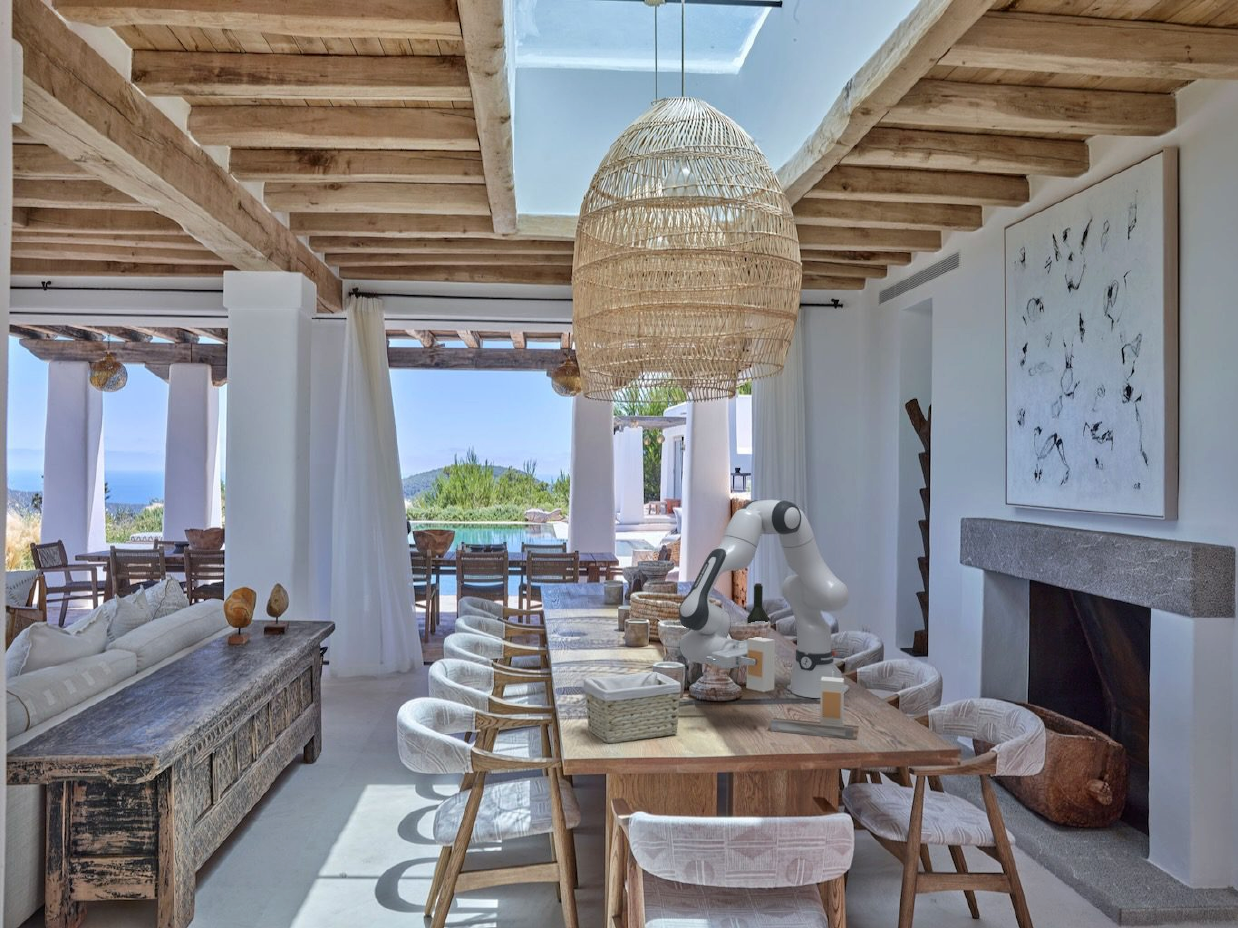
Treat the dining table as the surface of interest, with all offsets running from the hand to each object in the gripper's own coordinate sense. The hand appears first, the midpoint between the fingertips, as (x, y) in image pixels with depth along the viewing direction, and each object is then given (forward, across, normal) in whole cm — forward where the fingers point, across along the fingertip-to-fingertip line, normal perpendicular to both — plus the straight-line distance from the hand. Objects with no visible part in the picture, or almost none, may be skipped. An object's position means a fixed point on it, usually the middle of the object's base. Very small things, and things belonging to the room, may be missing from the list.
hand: (763, 660), depth 247 cm
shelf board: (+12, +8, +20) cm, 24 cm away
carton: (+16, +11, +18) cm, 26 cm away
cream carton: (-1, 0, +8) cm, 8 cm away
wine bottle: (-60, +76, +19) cm, 98 cm away
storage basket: (-22, -30, +20) cm, 42 cm away
